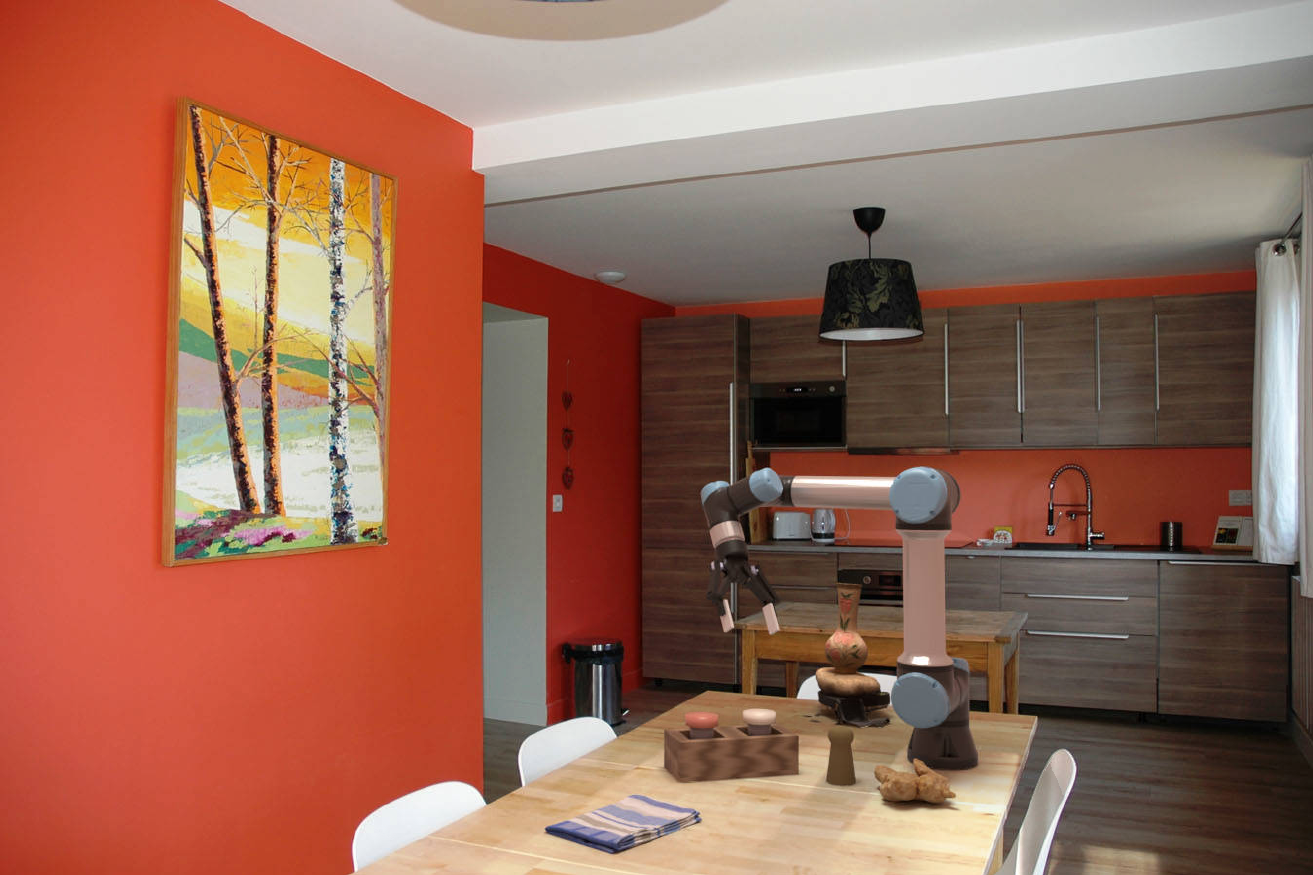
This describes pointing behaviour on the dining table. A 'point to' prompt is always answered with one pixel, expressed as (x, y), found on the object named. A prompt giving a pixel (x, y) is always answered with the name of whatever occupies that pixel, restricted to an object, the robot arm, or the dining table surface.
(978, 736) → the dining table surface
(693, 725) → the red button
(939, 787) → the ginger root
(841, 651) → the vase
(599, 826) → the dish towel
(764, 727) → the ivory button
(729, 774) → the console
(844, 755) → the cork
